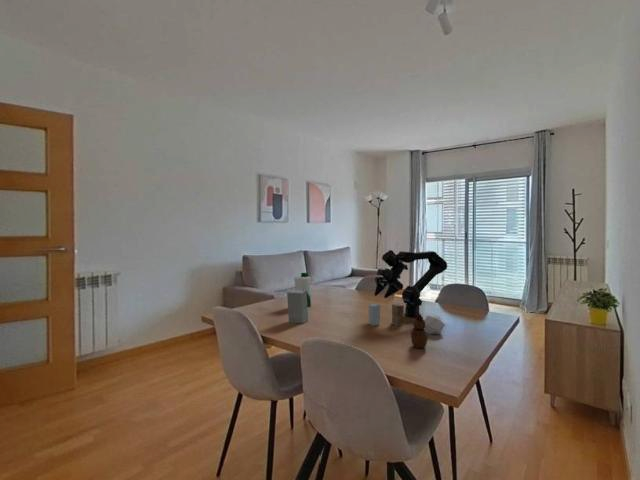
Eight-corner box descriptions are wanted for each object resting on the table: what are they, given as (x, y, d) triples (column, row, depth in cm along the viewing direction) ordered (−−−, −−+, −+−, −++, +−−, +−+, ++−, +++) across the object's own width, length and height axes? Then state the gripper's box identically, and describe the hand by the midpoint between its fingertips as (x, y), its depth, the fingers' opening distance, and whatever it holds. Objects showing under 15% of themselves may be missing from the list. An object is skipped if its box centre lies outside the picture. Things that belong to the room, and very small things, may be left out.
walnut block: (398, 322, 172) (399, 303, 172) (403, 324, 168) (403, 305, 168) (392, 323, 171) (392, 304, 170) (396, 325, 167) (396, 306, 166)
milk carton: (312, 306, 206) (312, 273, 205) (303, 309, 199) (303, 275, 198) (301, 304, 211) (301, 272, 210) (292, 307, 204) (291, 273, 203)
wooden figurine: (409, 344, 141) (409, 308, 140) (422, 343, 141) (423, 307, 141) (415, 350, 134) (415, 312, 134) (429, 349, 135) (429, 312, 134)
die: (440, 339, 149) (450, 319, 152) (423, 328, 150) (432, 309, 153) (434, 339, 157) (443, 321, 159) (417, 329, 158) (426, 311, 161)
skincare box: (308, 320, 175) (308, 290, 175) (301, 324, 169) (301, 292, 168) (293, 319, 179) (293, 289, 178) (287, 322, 172) (286, 291, 172)
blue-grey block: (375, 322, 172) (375, 303, 171) (379, 324, 168) (379, 305, 168) (368, 323, 170) (368, 304, 170) (372, 325, 167) (372, 306, 166)
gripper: (375, 261, 184) (359, 285, 181) (395, 263, 167) (378, 289, 163) (389, 274, 188) (374, 297, 184) (410, 276, 170) (394, 302, 166)
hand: (379, 296), depth 174 cm, fingers open, 9 cm apart
